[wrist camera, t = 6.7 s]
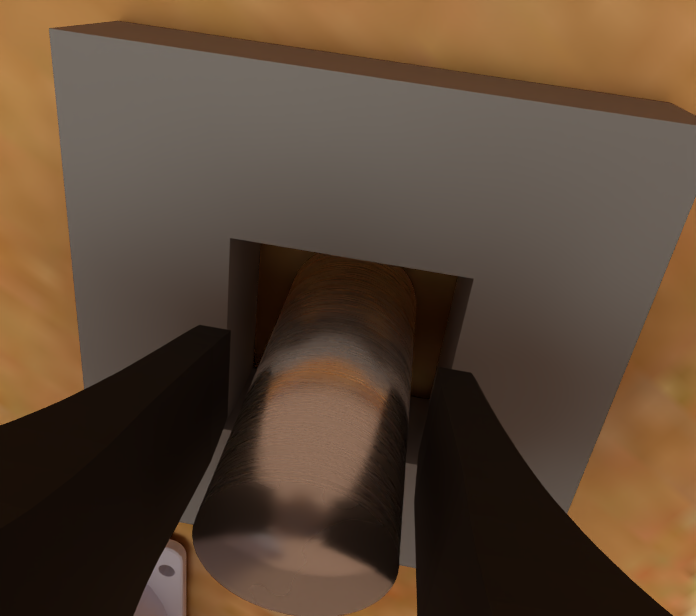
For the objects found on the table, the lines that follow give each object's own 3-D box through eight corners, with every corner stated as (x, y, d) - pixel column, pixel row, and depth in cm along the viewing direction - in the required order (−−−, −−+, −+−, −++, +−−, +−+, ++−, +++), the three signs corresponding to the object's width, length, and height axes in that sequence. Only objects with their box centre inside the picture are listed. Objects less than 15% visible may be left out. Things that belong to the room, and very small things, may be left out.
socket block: (522, 513, 17) (535, 591, 15) (138, 440, 18) (95, 505, 15) (669, 102, 12) (722, 129, 10) (117, 21, 12) (49, 27, 10)
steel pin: (405, 362, 15) (382, 632, 10) (287, 342, 16) (193, 595, 10) (427, 257, 14) (416, 503, 8) (295, 235, 14) (189, 462, 8)
